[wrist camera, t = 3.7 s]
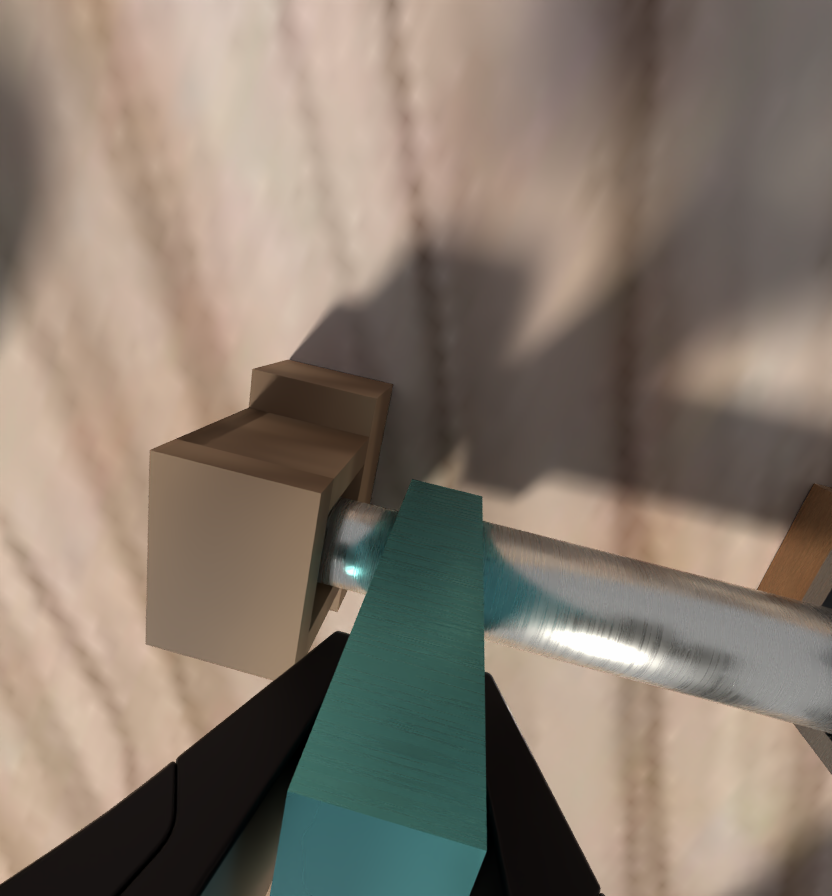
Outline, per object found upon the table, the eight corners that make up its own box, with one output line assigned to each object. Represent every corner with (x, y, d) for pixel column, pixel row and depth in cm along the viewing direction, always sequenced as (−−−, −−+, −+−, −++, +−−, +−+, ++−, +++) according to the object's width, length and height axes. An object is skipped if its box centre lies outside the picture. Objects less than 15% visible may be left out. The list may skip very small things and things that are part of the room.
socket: (392, 384, 14) (328, 439, 8) (356, 570, 17) (285, 721, 10) (287, 359, 15) (151, 395, 8) (265, 546, 17) (144, 681, 11)
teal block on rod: (1018, 629, 12) (2302, 1395, 3) (950, 716, 12) (1832, 1480, 4) (326, 457, 13) (53, 720, 5) (312, 548, 14) (65, 900, 6)
